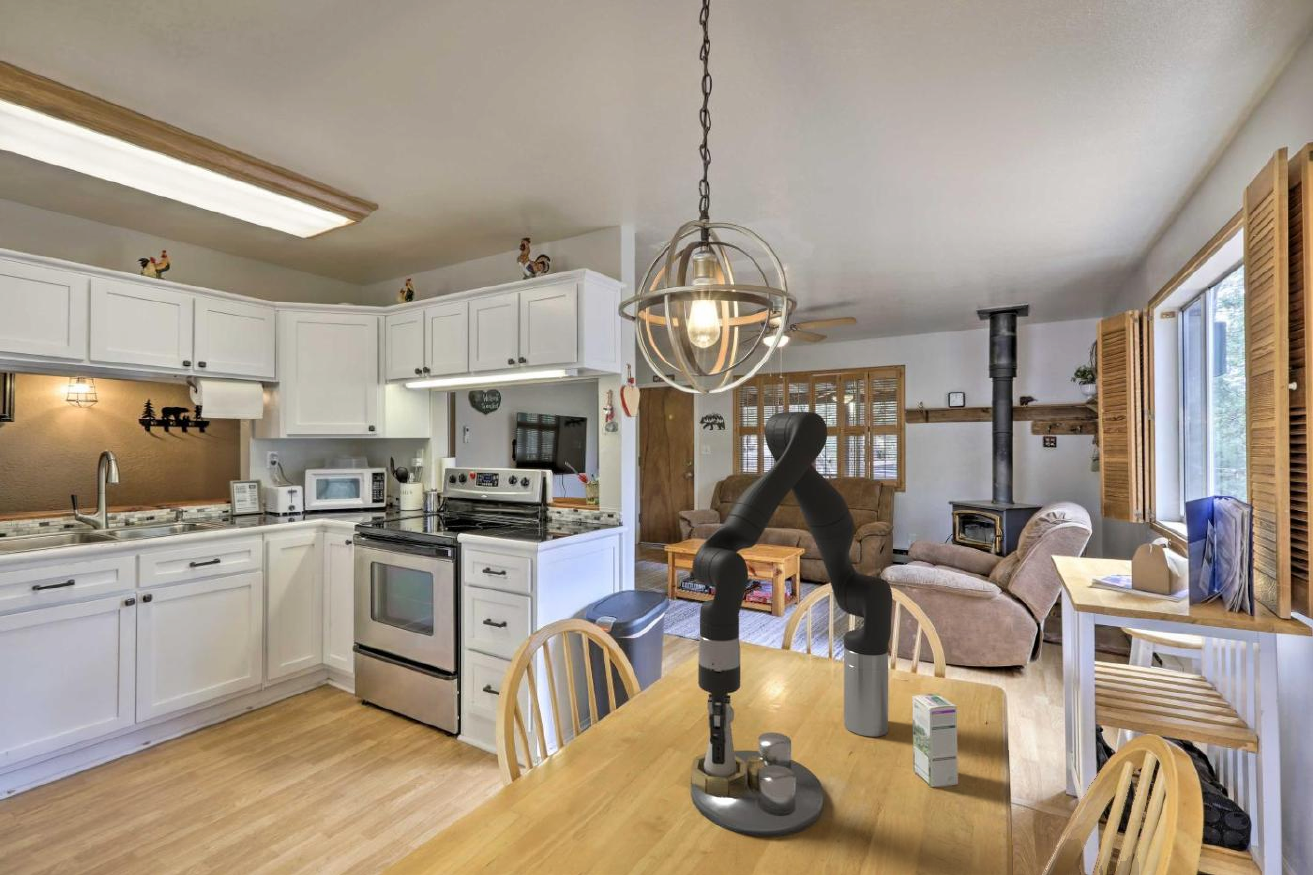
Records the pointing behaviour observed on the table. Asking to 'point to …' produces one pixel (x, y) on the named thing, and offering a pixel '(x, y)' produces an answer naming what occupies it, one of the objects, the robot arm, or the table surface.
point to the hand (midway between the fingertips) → (719, 756)
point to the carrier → (760, 791)
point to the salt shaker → (730, 762)
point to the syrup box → (935, 740)
